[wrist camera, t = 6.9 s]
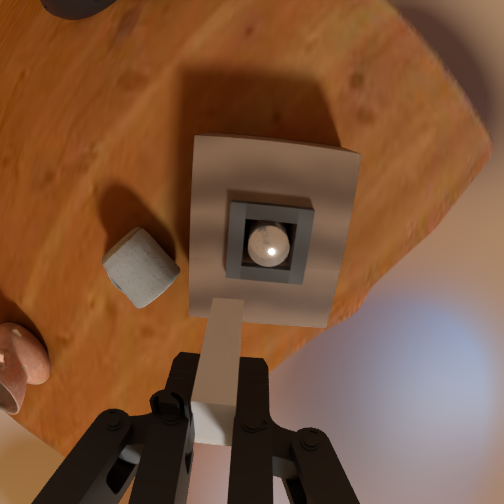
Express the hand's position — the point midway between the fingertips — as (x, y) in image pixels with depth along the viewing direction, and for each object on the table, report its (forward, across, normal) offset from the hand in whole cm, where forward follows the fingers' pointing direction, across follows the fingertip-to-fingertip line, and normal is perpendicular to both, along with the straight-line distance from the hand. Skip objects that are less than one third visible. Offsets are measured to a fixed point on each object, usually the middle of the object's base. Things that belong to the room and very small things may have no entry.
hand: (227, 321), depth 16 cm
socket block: (+25, +3, -3) cm, 25 cm away
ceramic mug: (+25, -14, -10) cm, 30 cm away
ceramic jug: (+25, -42, -32) cm, 59 cm away
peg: (+24, +3, -3) cm, 24 cm away
